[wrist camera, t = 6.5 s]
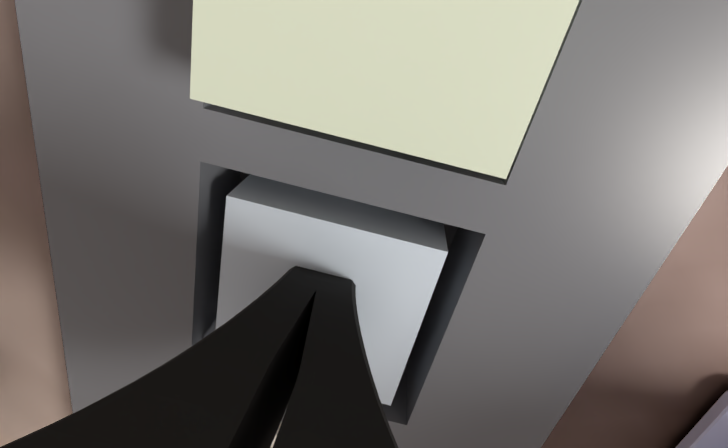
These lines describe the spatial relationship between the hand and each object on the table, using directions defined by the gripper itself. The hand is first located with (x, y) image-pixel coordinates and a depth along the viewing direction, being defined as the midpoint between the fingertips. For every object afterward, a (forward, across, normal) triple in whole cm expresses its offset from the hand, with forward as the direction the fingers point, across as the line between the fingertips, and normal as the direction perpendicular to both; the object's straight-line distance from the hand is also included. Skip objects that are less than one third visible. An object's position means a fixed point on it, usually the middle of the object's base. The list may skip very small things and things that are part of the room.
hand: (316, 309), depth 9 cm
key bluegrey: (+2, 0, 0) cm, 2 cm away
